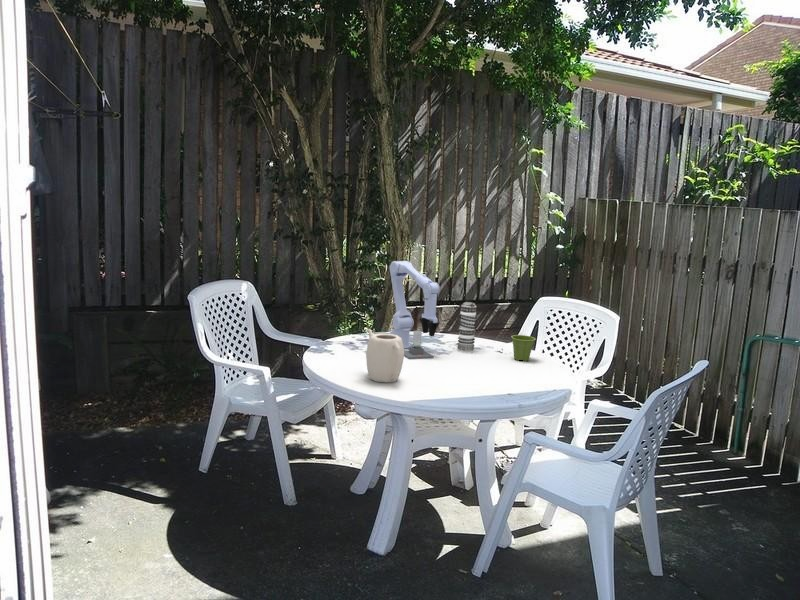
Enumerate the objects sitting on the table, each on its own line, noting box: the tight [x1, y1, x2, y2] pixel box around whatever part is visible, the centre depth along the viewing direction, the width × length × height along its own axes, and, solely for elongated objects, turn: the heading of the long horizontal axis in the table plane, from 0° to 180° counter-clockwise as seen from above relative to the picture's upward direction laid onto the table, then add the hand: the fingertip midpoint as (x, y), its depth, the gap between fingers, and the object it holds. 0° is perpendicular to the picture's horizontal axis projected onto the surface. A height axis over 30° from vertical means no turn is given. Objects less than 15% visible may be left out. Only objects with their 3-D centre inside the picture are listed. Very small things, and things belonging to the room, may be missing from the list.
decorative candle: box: [456, 301, 478, 354], centre depth 357 cm, size 9×9×25 cm
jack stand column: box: [412, 330, 423, 347], centre depth 342 cm, size 3×3×7 cm
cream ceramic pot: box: [365, 329, 405, 384], centre depth 296 cm, size 16×27×19 cm, turn 33°
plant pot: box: [511, 334, 536, 362], centre depth 346 cm, size 12×12×11 cm
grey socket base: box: [404, 345, 435, 360], centre depth 343 cm, size 13×13×5 cm
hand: (428, 334), depth 344 cm, fingers open, 7 cm apart
